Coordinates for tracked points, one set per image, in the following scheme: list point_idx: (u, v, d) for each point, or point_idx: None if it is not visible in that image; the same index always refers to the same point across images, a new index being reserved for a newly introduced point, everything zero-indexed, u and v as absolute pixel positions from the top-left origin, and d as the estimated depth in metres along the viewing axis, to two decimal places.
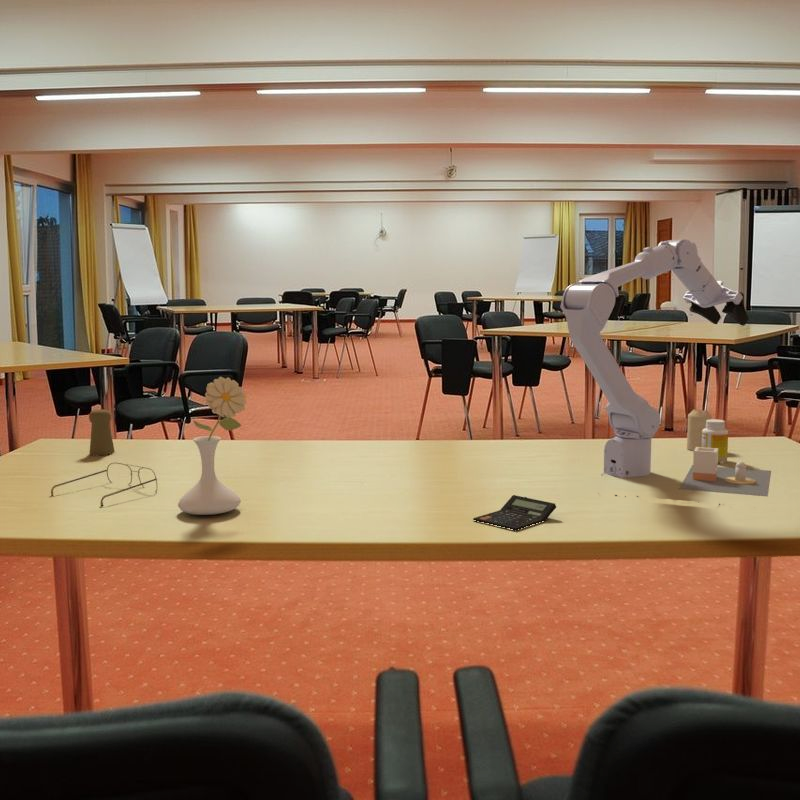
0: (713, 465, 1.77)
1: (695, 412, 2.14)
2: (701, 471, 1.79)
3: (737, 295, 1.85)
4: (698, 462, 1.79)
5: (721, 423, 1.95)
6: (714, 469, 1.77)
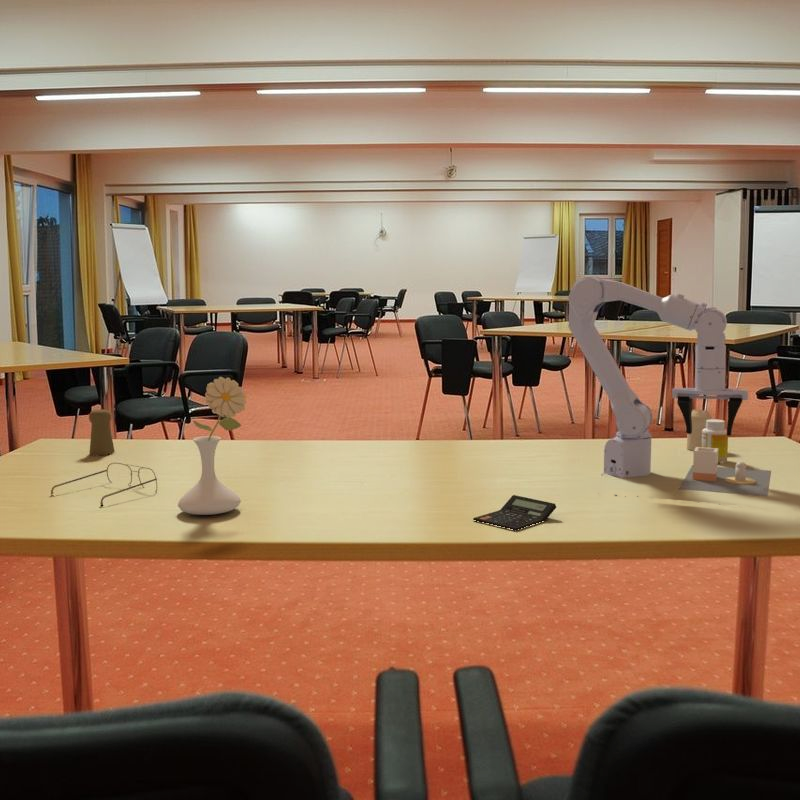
0: (713, 465, 1.77)
1: (695, 412, 2.13)
2: (701, 471, 1.79)
3: None
4: (698, 462, 1.79)
5: (721, 423, 1.95)
6: (714, 469, 1.77)
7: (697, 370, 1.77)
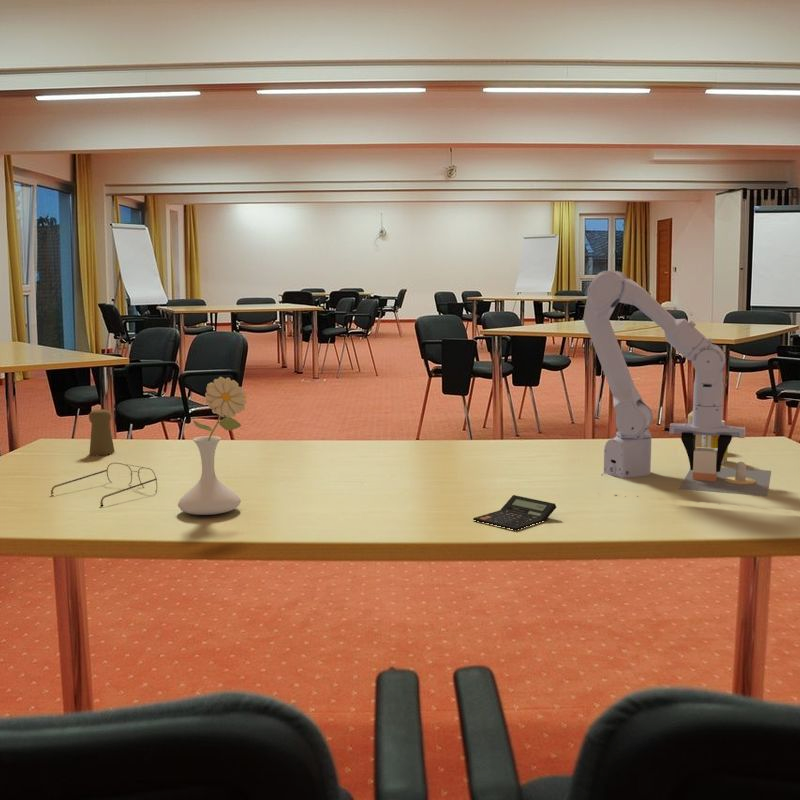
0: (713, 465, 1.77)
1: None
2: (701, 471, 1.79)
3: (744, 429, 1.76)
4: (698, 462, 1.79)
5: None
6: (714, 469, 1.77)
7: (695, 407, 1.78)
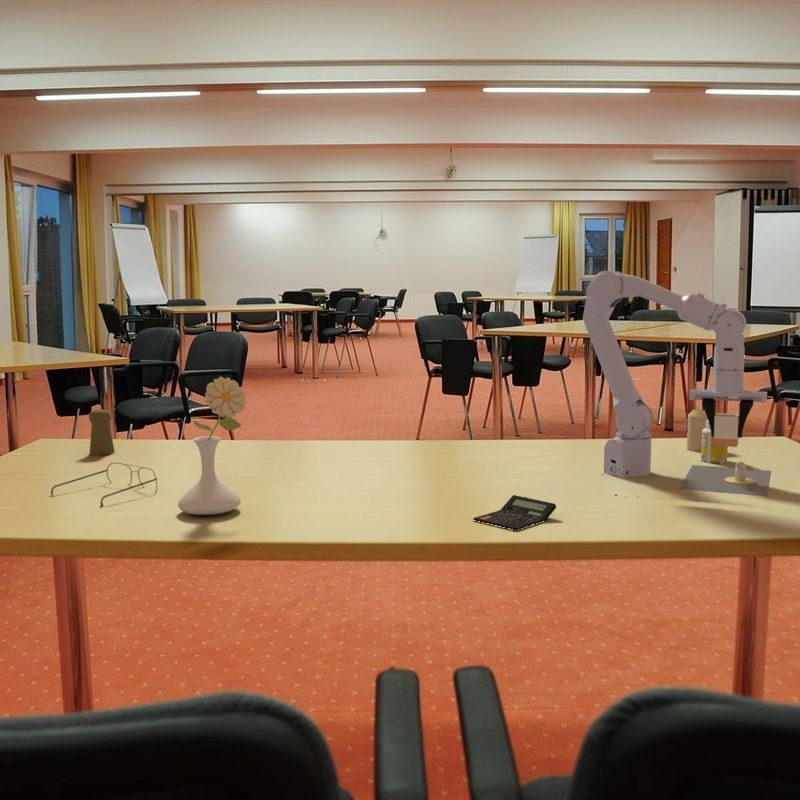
0: (734, 430, 1.75)
1: (695, 412, 2.14)
2: (722, 437, 1.76)
3: (766, 393, 1.74)
4: (719, 427, 1.76)
5: None
6: (736, 434, 1.75)
7: (715, 372, 1.75)
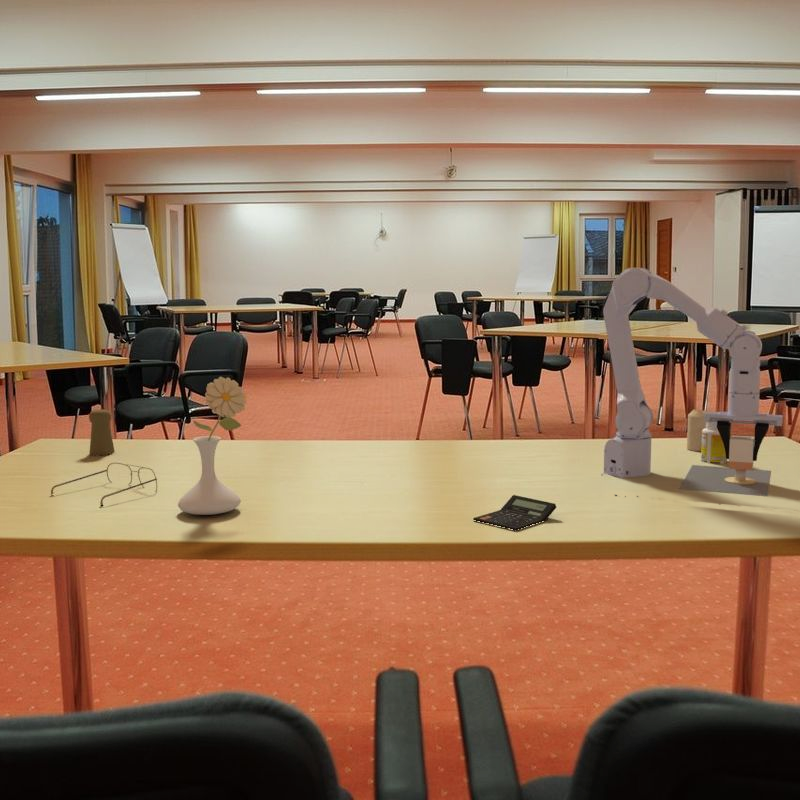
0: (750, 454, 1.74)
1: (695, 412, 2.14)
2: (737, 460, 1.75)
3: (782, 417, 1.73)
4: (734, 450, 1.75)
5: None
6: (751, 458, 1.74)
7: (731, 394, 1.75)
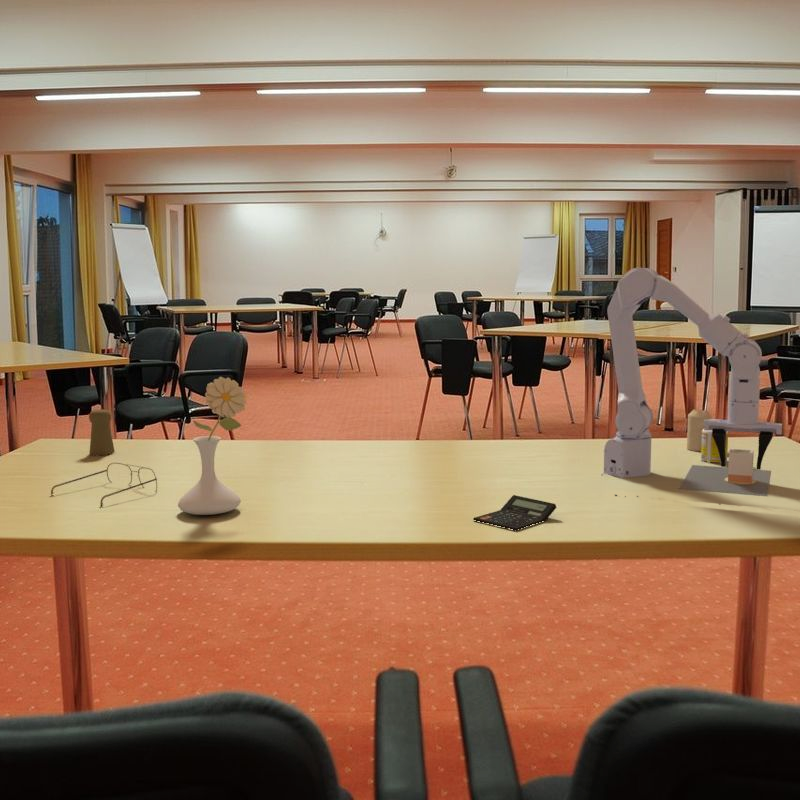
0: (749, 467, 1.74)
1: (695, 412, 2.13)
2: (737, 473, 1.76)
3: (781, 425, 1.73)
4: (733, 463, 1.76)
5: None
6: (750, 471, 1.74)
7: (730, 403, 1.75)
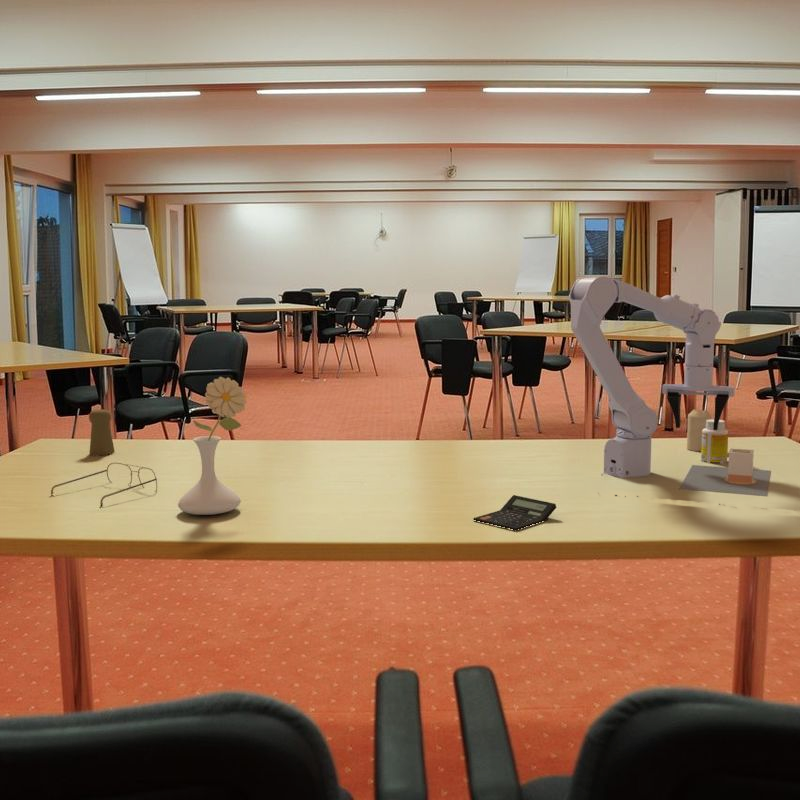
0: (749, 467, 1.74)
1: (695, 412, 2.14)
2: (737, 473, 1.76)
3: (734, 388, 1.84)
4: (733, 463, 1.76)
5: (721, 423, 1.95)
6: (750, 471, 1.74)
7: (686, 367, 1.86)
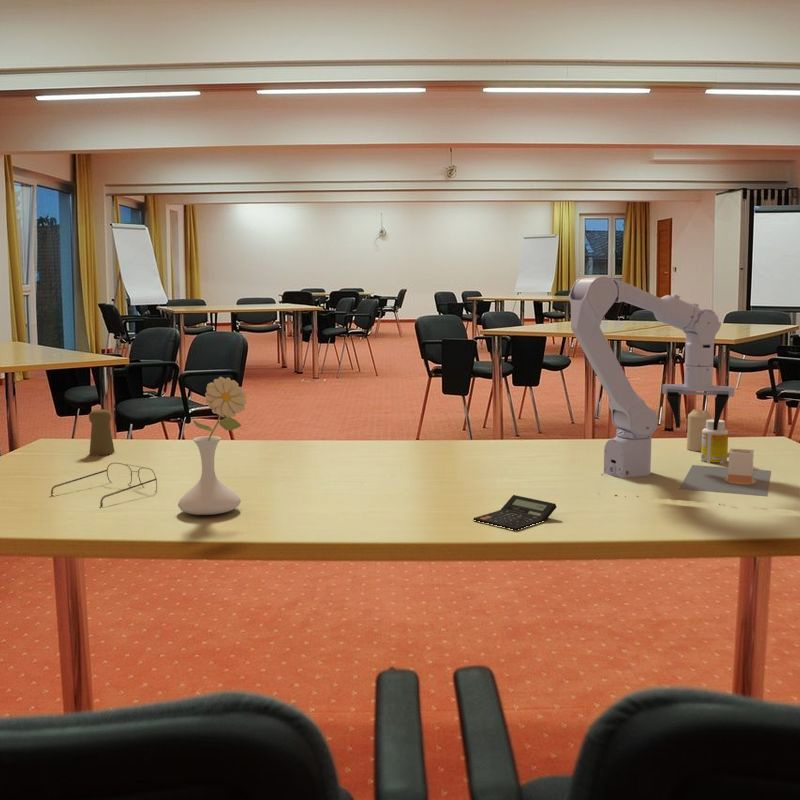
0: (749, 467, 1.74)
1: (695, 412, 2.13)
2: (737, 473, 1.76)
3: (734, 388, 1.84)
4: (733, 463, 1.76)
5: (721, 423, 1.95)
6: (750, 471, 1.74)
7: (686, 367, 1.86)
